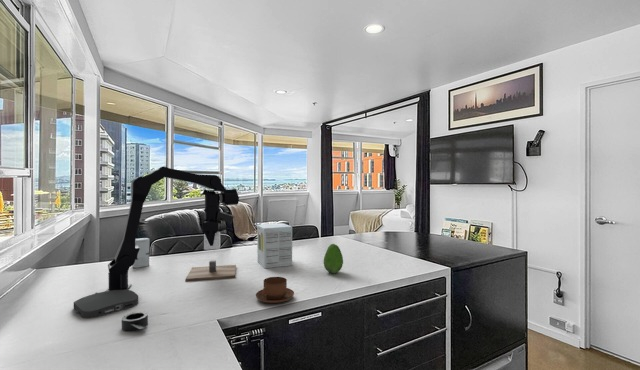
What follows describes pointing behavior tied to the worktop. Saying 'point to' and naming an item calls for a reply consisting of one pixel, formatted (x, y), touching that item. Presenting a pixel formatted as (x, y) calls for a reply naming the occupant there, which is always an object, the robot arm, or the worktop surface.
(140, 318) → the duct tape
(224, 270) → the post stand
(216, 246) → the white cube
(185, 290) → the worktop surface
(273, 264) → the supplement box
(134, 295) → the media streaming box
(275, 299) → the cup and saucer
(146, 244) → the skincare box
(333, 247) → the avocado
